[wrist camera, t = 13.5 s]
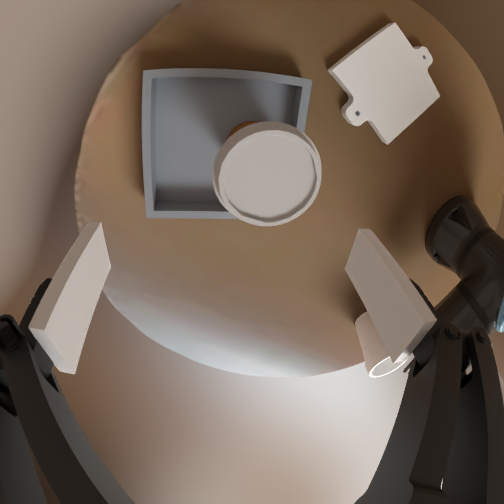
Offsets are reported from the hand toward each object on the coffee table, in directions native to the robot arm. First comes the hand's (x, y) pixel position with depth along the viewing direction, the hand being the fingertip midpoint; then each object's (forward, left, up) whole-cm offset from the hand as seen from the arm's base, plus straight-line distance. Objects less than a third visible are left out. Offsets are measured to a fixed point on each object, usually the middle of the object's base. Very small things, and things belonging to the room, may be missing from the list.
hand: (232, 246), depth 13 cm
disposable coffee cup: (-4, 0, -22) cm, 22 cm away
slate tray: (0, 0, -22) cm, 22 cm away
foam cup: (-34, +35, -23) cm, 54 cm away
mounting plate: (-21, -12, -23) cm, 33 cm away
